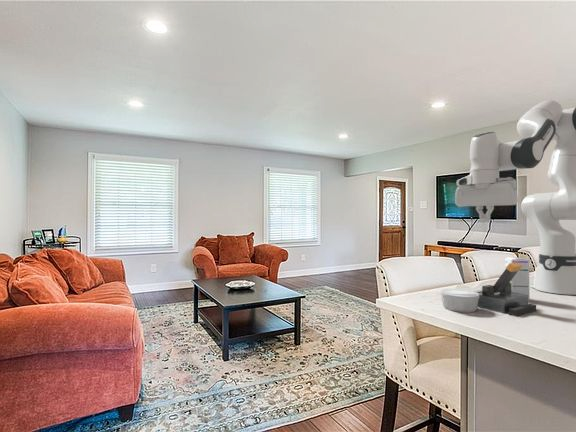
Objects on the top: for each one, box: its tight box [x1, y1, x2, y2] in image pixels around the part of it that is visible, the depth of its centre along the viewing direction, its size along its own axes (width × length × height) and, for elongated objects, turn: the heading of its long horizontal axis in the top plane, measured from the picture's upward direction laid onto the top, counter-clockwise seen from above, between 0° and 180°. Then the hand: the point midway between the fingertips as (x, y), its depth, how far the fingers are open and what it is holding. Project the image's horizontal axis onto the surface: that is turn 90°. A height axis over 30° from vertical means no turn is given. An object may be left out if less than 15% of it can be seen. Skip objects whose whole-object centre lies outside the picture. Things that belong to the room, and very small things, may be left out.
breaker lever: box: [493, 263, 522, 293], centre depth 112 cm, size 5×2×11 cm
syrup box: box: [504, 256, 530, 302], centre depth 124 cm, size 6×6×14 cm
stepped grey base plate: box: [473, 283, 529, 314], centre depth 114 cm, size 14×12×7 cm
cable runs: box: [508, 303, 537, 317], centre depth 115 cm, size 13×22×2 cm, turn 31°
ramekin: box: [439, 288, 480, 313], centre depth 111 cm, size 11×11×5 cm
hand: (484, 219), depth 122 cm, fingers closed
